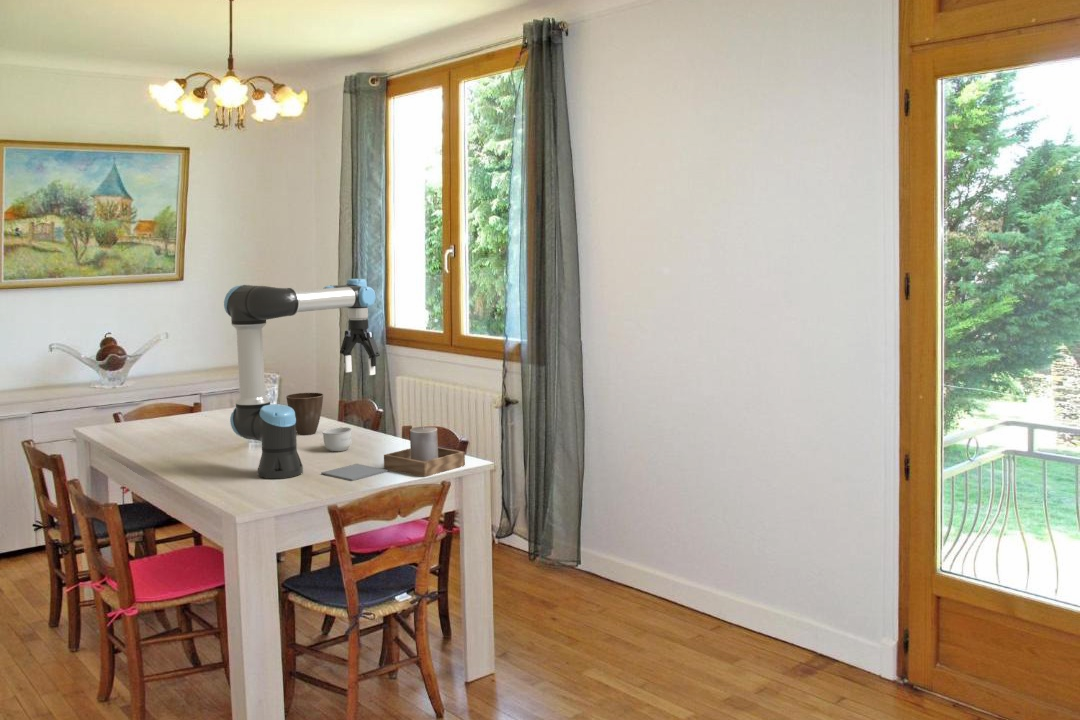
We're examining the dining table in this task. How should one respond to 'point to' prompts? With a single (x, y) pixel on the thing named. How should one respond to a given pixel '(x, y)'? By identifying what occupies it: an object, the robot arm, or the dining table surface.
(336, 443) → the teacup
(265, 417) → the robot arm
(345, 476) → the grey rubber mat
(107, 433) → the dining table surface
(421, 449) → the pillar candle
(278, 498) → the dining table surface
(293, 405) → the plant pot
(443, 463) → the walnut box
